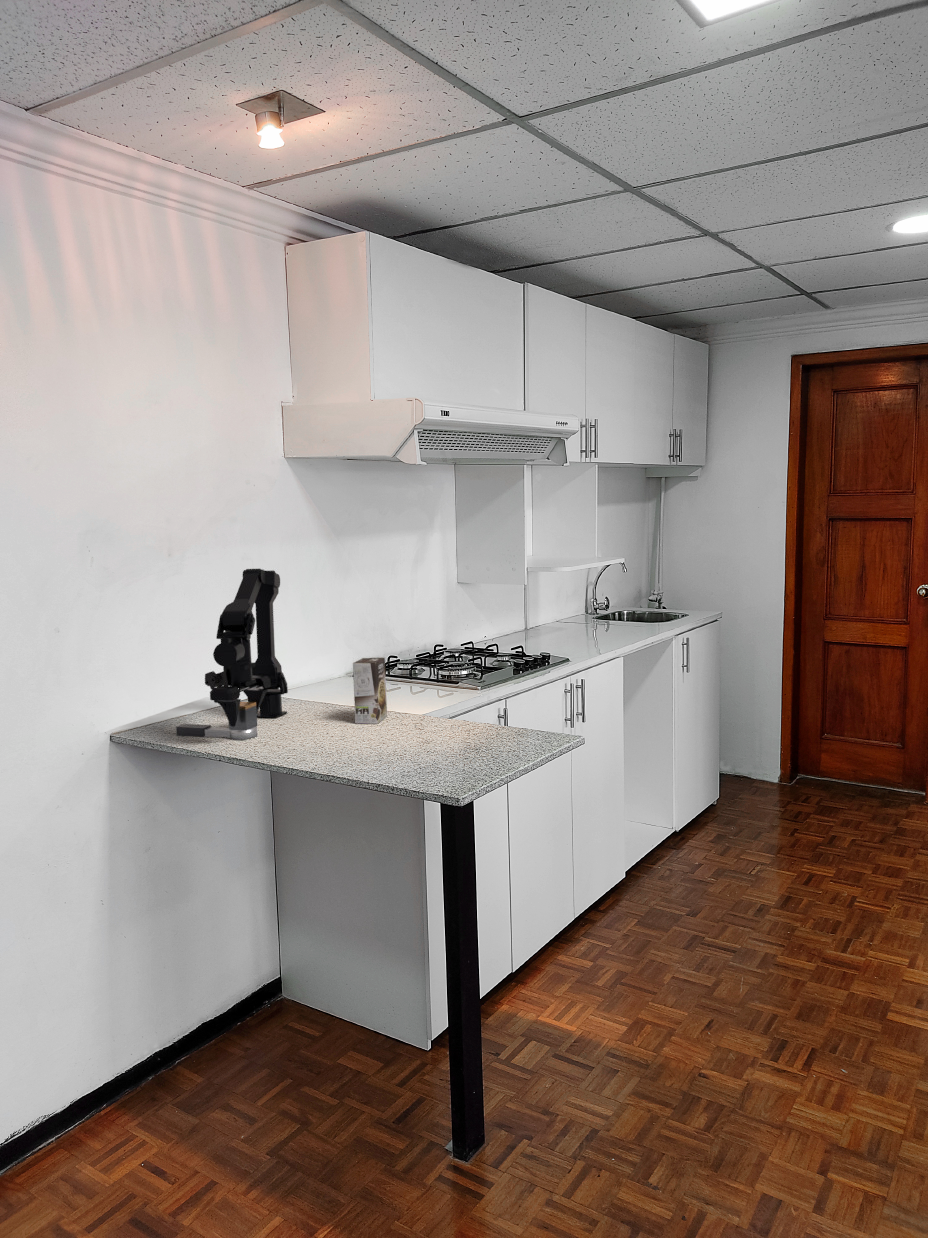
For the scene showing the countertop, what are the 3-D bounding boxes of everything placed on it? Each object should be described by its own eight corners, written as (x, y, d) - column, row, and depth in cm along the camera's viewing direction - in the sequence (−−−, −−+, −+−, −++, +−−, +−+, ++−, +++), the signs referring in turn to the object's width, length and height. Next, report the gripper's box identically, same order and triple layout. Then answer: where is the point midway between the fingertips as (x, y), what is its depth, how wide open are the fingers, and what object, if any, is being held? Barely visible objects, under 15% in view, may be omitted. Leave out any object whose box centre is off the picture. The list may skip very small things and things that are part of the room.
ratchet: (188, 730, 239) (186, 710, 238) (262, 734, 232) (260, 713, 231) (173, 736, 233) (171, 715, 232) (248, 741, 226) (247, 719, 225)
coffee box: (378, 724, 239) (375, 662, 237) (354, 724, 240) (351, 662, 239) (388, 716, 248) (385, 656, 246) (365, 716, 249) (362, 657, 247)
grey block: (239, 725, 233) (238, 701, 232) (257, 725, 231) (256, 702, 230) (228, 729, 228) (227, 705, 227) (246, 730, 226) (245, 706, 226)
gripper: (231, 653, 239) (235, 712, 241) (188, 665, 221) (193, 729, 223) (270, 654, 235) (273, 714, 237) (229, 666, 218) (233, 731, 220)
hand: (243, 722), depth 229 cm, fingers open, 9 cm apart
